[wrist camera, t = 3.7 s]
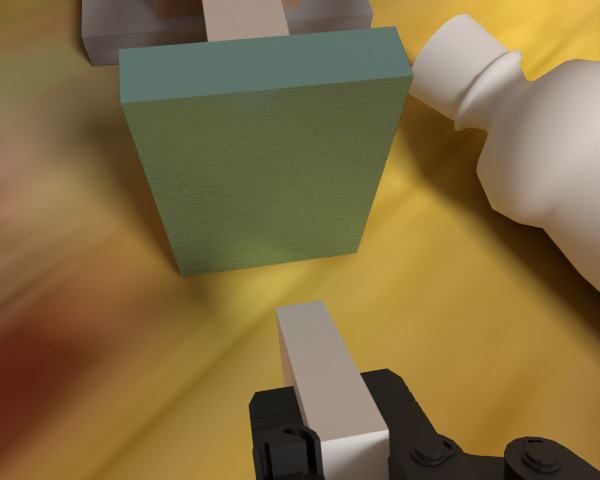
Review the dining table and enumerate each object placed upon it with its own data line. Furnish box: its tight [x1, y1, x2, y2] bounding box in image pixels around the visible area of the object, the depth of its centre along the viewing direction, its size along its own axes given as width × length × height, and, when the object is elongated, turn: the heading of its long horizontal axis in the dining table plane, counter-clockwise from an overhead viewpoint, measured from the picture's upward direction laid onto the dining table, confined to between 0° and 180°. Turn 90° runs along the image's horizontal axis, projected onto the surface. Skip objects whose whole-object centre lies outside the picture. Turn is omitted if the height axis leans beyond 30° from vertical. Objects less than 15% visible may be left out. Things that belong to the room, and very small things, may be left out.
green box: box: [119, 0, 414, 277], centre depth 23 cm, size 8×18×11 cm, turn 10°
